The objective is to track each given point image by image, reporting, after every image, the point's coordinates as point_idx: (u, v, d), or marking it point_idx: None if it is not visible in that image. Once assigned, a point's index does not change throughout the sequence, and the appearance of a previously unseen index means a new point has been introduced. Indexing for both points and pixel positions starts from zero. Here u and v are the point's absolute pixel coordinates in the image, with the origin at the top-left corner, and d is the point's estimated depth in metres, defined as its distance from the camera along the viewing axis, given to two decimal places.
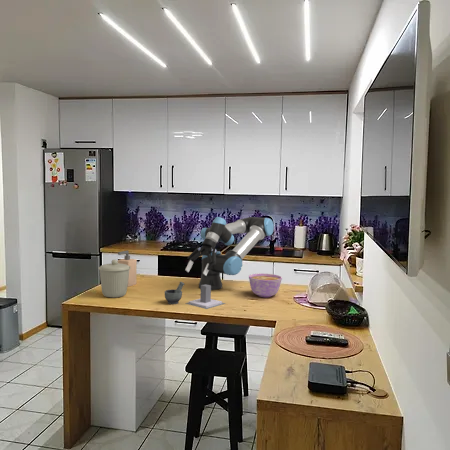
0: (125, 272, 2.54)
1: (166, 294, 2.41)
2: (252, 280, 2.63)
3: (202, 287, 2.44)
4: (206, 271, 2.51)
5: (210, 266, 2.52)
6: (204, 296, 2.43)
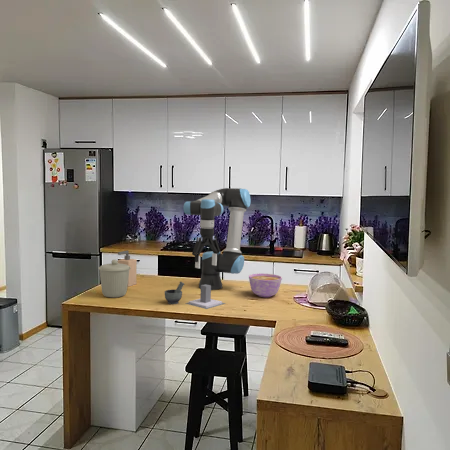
0: (125, 272, 2.54)
1: (166, 294, 2.41)
2: (252, 280, 2.63)
3: (202, 287, 2.44)
4: None
5: None
6: (204, 296, 2.43)
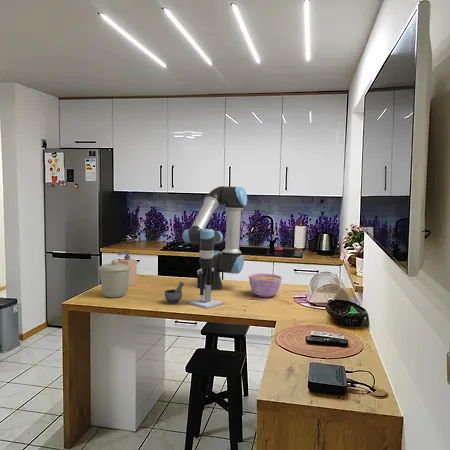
0: (125, 272, 2.54)
1: (166, 294, 2.41)
2: (252, 280, 2.63)
3: None
4: None
5: None
6: None
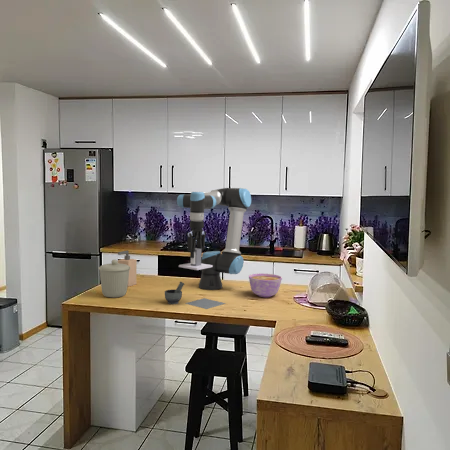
0: (125, 272, 2.54)
1: (166, 294, 2.41)
2: (252, 280, 2.63)
3: None
4: None
5: None
6: None
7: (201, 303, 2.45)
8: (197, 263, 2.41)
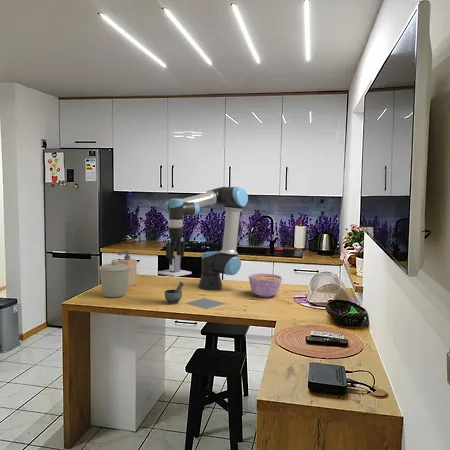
0: (125, 272, 2.54)
1: (166, 294, 2.41)
2: (252, 280, 2.63)
3: None
4: None
5: (180, 259, 2.46)
6: None
7: (201, 303, 2.45)
8: (176, 270, 2.41)
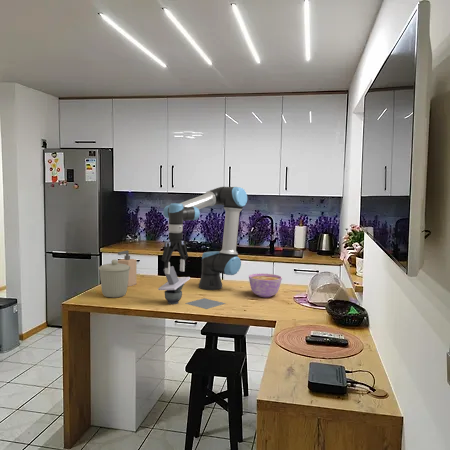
0: (125, 272, 2.54)
1: (166, 294, 2.41)
2: (252, 280, 2.63)
3: None
4: None
5: None
6: (170, 278, 2.41)
7: (201, 303, 2.45)
8: (174, 281, 2.42)
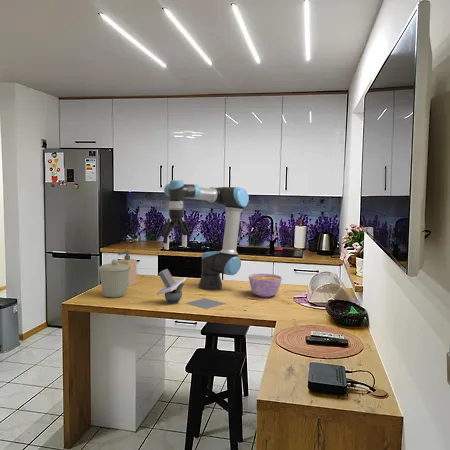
0: (125, 272, 2.54)
1: (166, 294, 2.41)
2: (252, 280, 2.63)
3: (160, 274, 2.42)
4: None
5: None
6: (166, 281, 2.41)
7: (201, 303, 2.45)
8: (170, 283, 2.42)
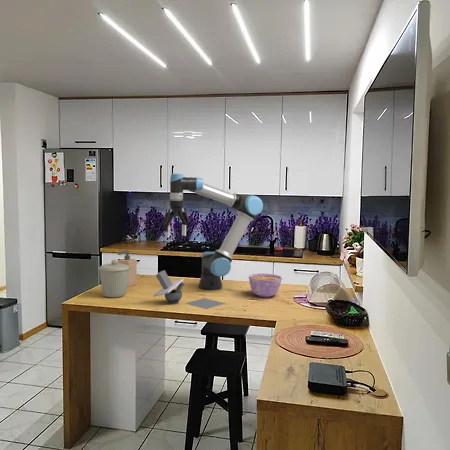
0: (125, 272, 2.54)
1: (166, 294, 2.41)
2: (252, 280, 2.63)
3: (157, 276, 2.42)
4: None
5: None
6: (163, 283, 2.41)
7: (201, 303, 2.45)
8: (168, 285, 2.41)
